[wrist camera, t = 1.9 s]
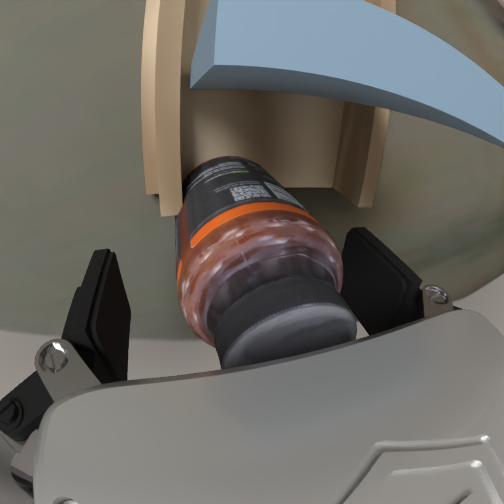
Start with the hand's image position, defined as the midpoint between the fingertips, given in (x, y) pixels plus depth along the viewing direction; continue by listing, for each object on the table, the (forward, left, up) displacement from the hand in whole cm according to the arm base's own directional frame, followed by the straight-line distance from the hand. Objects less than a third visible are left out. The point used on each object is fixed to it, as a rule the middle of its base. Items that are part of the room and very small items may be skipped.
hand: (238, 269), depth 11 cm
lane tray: (-3, -13, -7) cm, 15 cm away
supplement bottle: (-1, 0, -7) cm, 7 cm away
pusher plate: (-3, -7, -6) cm, 9 cm away
